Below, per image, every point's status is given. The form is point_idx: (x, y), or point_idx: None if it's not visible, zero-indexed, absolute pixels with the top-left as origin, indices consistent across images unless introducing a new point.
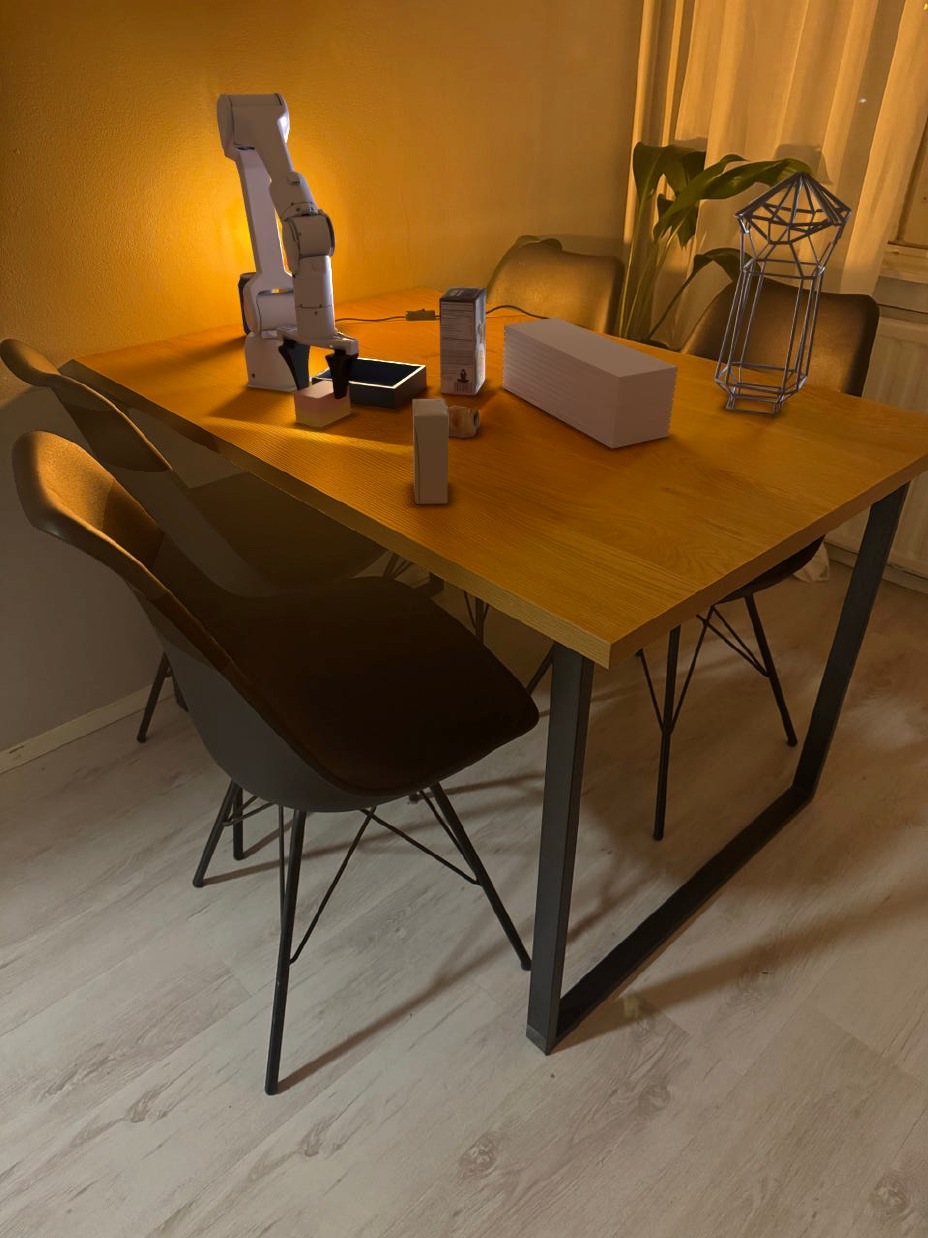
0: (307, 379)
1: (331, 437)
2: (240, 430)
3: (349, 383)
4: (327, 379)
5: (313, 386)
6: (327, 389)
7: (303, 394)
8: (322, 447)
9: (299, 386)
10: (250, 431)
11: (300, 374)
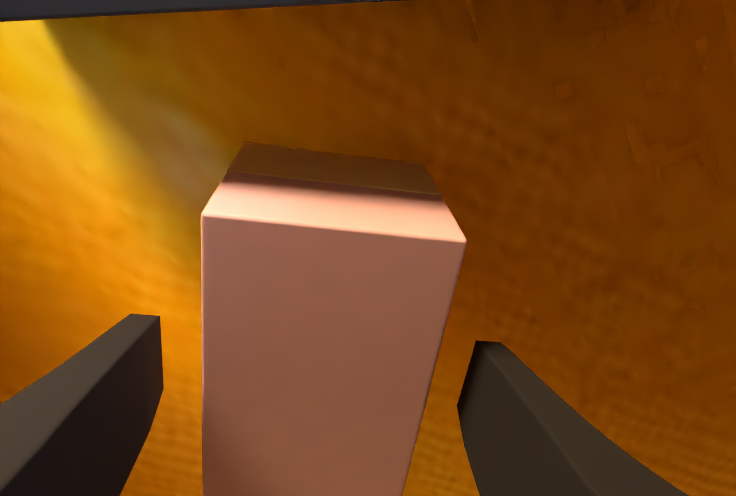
0: (139, 362)
1: None
2: None
3: (339, 2)
4: (89, 4)
5: (234, 369)
6: (365, 375)
7: (281, 493)
8: None
9: (153, 416)
10: (131, 485)
11: (113, 460)
